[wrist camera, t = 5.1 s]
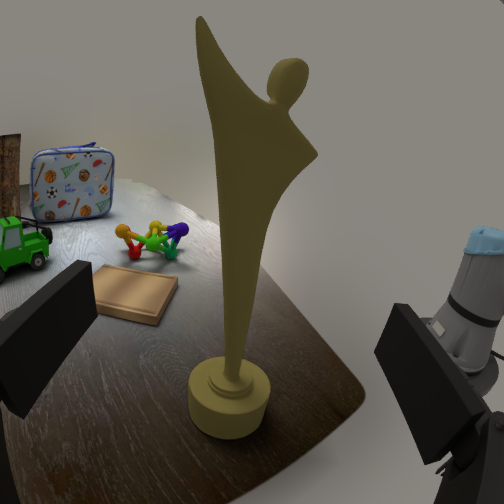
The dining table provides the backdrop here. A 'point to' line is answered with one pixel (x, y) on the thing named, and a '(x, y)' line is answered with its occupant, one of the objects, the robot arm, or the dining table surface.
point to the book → (9, 175)
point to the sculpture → (244, 222)
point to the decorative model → (154, 238)
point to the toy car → (22, 245)
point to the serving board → (132, 293)
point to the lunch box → (71, 183)
